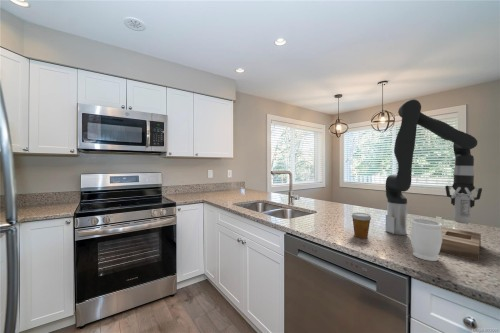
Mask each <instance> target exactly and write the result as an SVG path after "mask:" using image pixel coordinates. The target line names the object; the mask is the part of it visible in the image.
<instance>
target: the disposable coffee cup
mask: <svg viewBox="0 0 500 333" xmlns="http://www.w3.org/2000/svg"><path fill="white" fill-rule="evenodd" d="M351 218H352V225H353V227H352V228H353V233H354V237H355V238H359V239H368V237H369V231H370V224H371V219H372V217H371V215H370V214H369V213H366V212H352V214H351Z"/></svg>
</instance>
